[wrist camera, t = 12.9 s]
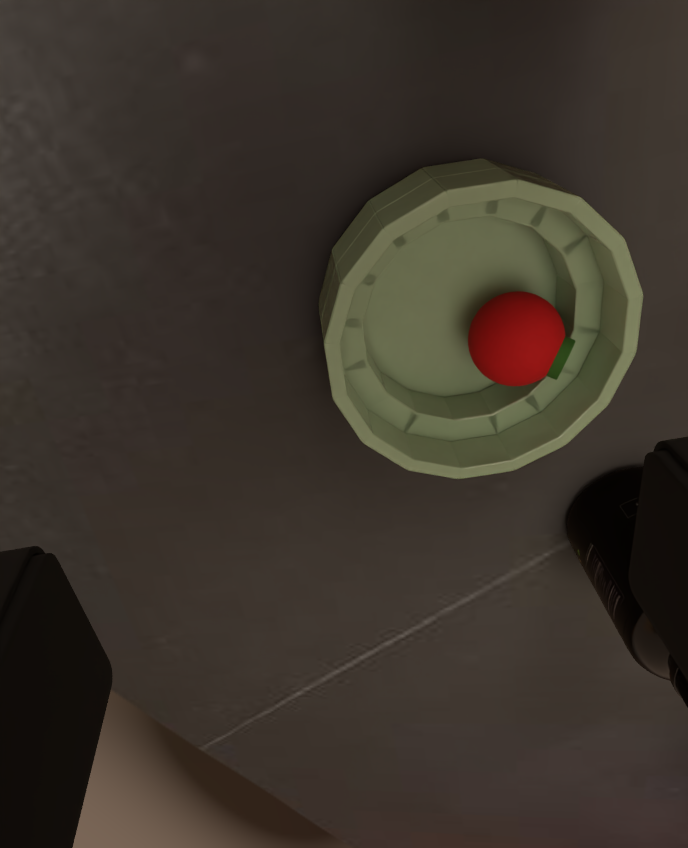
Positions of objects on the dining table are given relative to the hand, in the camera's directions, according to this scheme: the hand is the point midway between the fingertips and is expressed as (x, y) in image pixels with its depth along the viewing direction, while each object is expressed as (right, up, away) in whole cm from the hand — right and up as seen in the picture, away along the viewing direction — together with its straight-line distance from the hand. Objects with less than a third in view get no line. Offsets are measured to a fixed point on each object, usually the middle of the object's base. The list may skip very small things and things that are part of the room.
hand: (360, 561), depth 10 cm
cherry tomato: (+5, +7, +18) cm, 19 cm away
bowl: (+5, +8, +19) cm, 21 cm away
